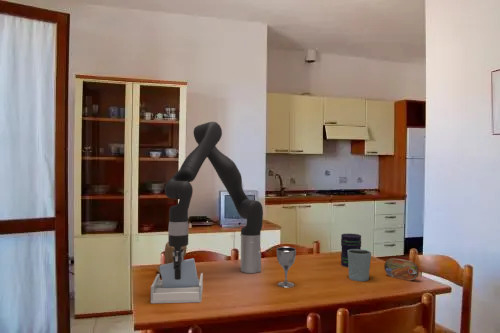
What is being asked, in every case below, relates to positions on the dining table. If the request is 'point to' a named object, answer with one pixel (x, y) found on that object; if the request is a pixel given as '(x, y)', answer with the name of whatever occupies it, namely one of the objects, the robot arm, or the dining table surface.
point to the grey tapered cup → (359, 264)
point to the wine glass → (286, 262)
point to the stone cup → (170, 255)
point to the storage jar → (349, 246)
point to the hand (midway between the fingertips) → (178, 277)
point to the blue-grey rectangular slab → (187, 275)
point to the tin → (401, 269)
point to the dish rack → (175, 292)
